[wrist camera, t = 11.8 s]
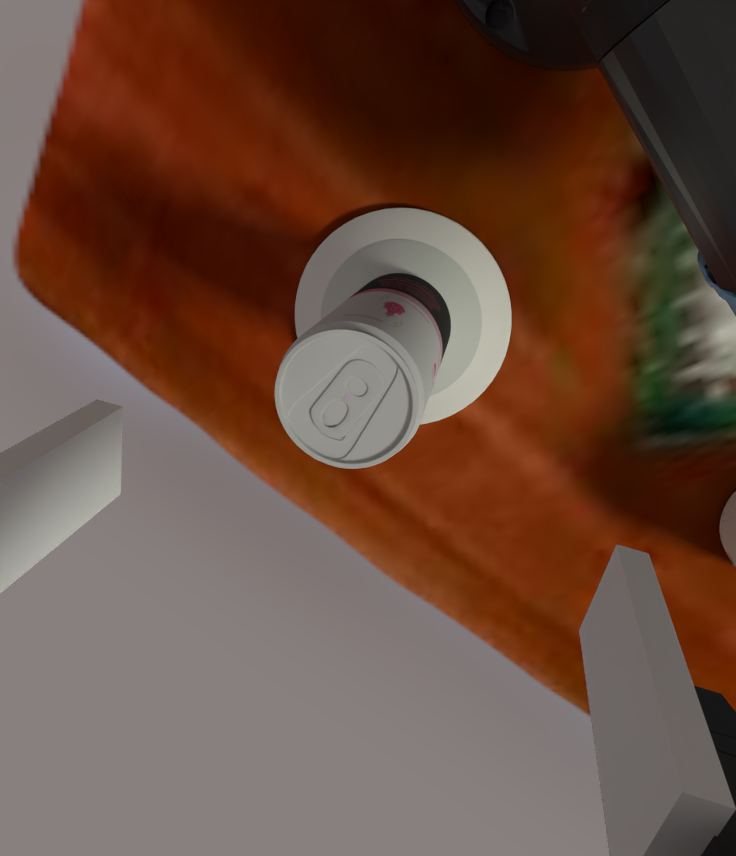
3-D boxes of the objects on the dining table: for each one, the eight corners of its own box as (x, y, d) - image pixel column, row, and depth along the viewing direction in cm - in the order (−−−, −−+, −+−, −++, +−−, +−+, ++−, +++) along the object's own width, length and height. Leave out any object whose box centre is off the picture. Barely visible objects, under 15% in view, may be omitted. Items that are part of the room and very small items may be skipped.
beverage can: (330, 329, 41) (242, 406, 27) (392, 249, 38) (329, 291, 25) (407, 392, 41) (358, 499, 28) (473, 318, 39) (455, 396, 25)
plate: (279, 224, 40) (275, 225, 39) (503, 191, 36) (503, 191, 36) (316, 428, 45) (314, 431, 44) (518, 415, 41) (518, 419, 41)
